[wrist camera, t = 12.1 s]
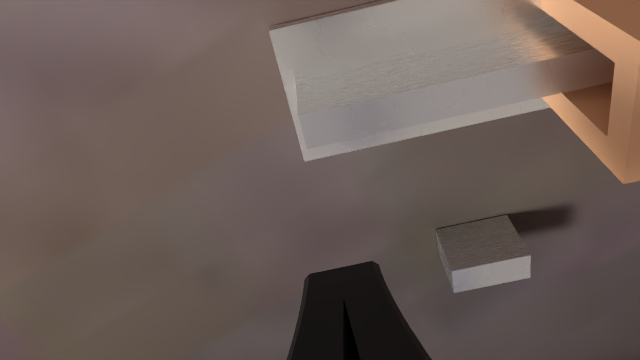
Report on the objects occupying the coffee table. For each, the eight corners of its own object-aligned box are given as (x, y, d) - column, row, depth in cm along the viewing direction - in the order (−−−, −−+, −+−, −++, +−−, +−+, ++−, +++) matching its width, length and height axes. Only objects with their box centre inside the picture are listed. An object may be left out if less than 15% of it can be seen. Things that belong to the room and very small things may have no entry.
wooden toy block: (507, 236, 23) (530, 277, 21) (437, 250, 23) (453, 292, 21) (506, 214, 22) (530, 255, 20) (435, 229, 23) (451, 271, 21)
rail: (800, 46, 19) (886, 83, 16) (304, 156, 20) (308, 207, 18) (848, -111, 16) (959, -96, 14) (268, 26, 17) (268, 65, 15)
